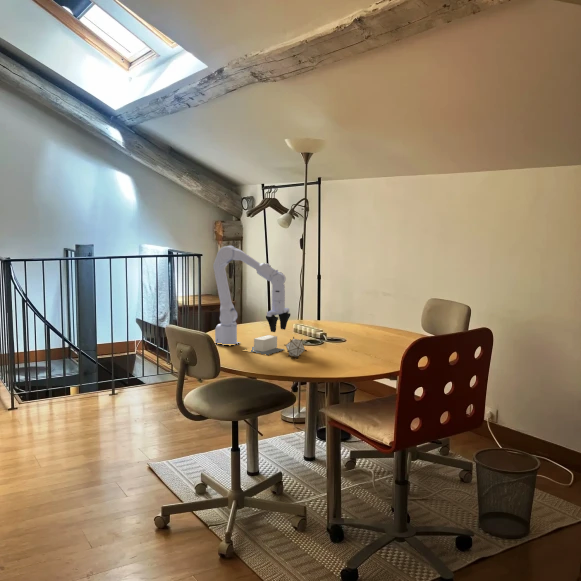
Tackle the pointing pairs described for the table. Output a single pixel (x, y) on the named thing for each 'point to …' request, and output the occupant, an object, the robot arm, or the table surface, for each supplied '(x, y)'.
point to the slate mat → (267, 351)
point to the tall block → (265, 343)
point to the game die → (295, 347)
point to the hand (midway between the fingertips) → (278, 330)
